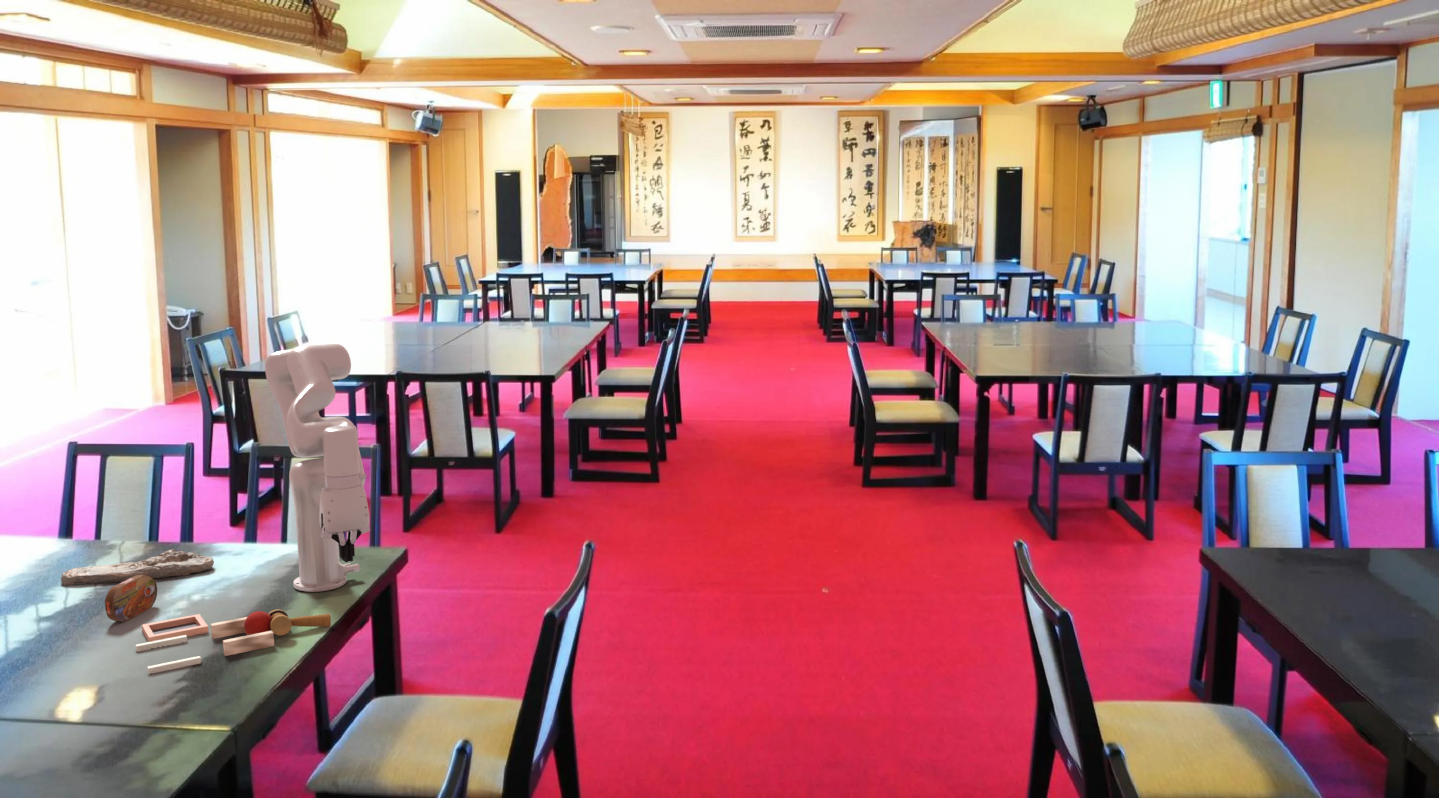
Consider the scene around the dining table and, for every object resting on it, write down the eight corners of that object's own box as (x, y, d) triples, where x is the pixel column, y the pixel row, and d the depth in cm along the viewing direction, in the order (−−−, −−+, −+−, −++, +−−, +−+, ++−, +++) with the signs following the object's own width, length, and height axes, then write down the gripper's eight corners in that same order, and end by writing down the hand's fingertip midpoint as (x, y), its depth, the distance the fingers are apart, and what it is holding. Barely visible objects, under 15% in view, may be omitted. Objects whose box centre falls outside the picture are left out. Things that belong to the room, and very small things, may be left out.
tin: (116, 627, 269) (112, 591, 268) (103, 626, 270) (100, 590, 268) (159, 604, 284) (156, 569, 282) (148, 603, 284) (145, 569, 283)
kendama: (324, 625, 274) (240, 628, 265) (327, 600, 273) (243, 603, 264) (330, 642, 268) (245, 646, 259) (334, 617, 266) (248, 620, 257)
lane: (258, 627, 269) (258, 614, 269) (274, 645, 259) (273, 632, 258) (211, 636, 264) (210, 623, 263) (225, 655, 253) (224, 642, 252)
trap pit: (199, 620, 273) (199, 613, 273) (208, 632, 266) (208, 626, 266) (142, 631, 267) (141, 624, 266) (149, 644, 259) (149, 637, 259)
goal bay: (186, 639, 262) (185, 634, 261) (201, 663, 249) (200, 657, 249) (135, 649, 256) (135, 644, 256) (148, 674, 244) (148, 668, 244)
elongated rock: (66, 582, 303) (59, 597, 294) (63, 562, 302) (56, 577, 293) (215, 561, 314) (213, 574, 305) (212, 542, 313) (210, 555, 304)
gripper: (370, 473, 275) (374, 550, 279) (303, 482, 267) (309, 562, 270) (381, 480, 269) (385, 558, 272) (313, 489, 261) (318, 570, 264)
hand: (347, 560), depth 271 cm, fingers closed
